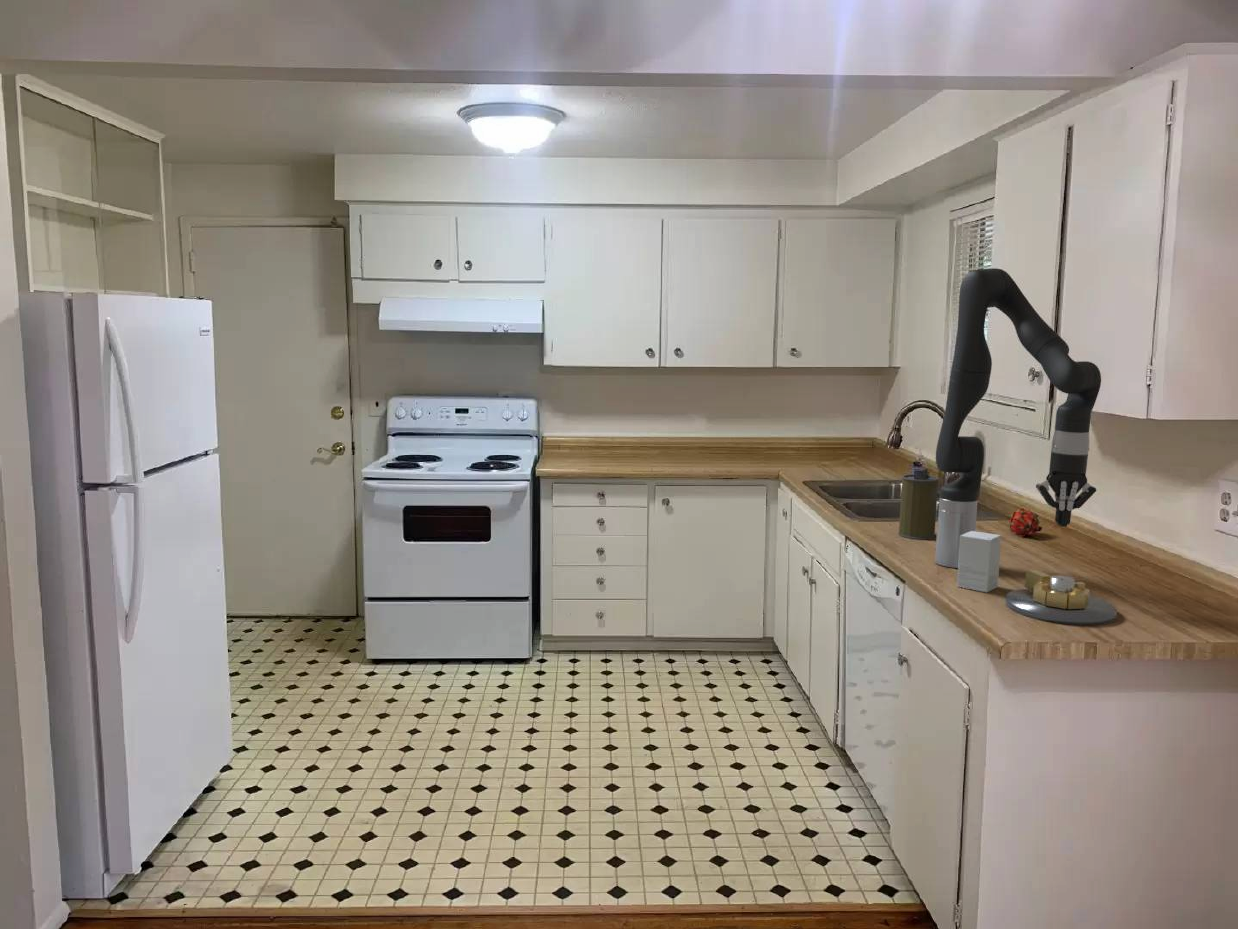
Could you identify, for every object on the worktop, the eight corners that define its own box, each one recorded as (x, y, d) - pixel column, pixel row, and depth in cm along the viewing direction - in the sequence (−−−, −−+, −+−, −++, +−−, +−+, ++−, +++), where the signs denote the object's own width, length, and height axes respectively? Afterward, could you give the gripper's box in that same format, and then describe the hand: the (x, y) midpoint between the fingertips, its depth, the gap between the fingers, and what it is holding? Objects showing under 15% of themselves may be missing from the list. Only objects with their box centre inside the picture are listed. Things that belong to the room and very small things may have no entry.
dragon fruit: (1021, 535, 285) (1028, 550, 274) (998, 518, 285) (1005, 532, 274) (1041, 515, 282) (1049, 529, 271) (1019, 498, 282) (1026, 511, 271)
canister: (930, 541, 268) (935, 472, 265) (893, 536, 274) (898, 468, 271) (939, 534, 277) (943, 467, 274) (903, 529, 283) (907, 464, 280)
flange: (987, 595, 215) (989, 565, 214) (1078, 594, 217) (1081, 565, 216) (1038, 626, 193) (1041, 593, 192) (1139, 624, 195) (1142, 592, 194)
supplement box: (998, 587, 222) (1002, 535, 220) (986, 593, 216) (991, 540, 214) (967, 581, 227) (971, 529, 225) (955, 587, 221) (959, 534, 219)
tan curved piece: (1098, 607, 200) (1100, 588, 200) (1054, 609, 198) (1055, 590, 198) (1049, 586, 216) (1051, 568, 216) (1008, 588, 214) (1009, 570, 214)
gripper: (1093, 449, 213) (1085, 523, 216) (1033, 447, 215) (1026, 520, 218) (1107, 454, 206) (1098, 531, 209) (1044, 452, 207) (1037, 528, 210)
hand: (1061, 525), depth 213 cm, fingers closed
